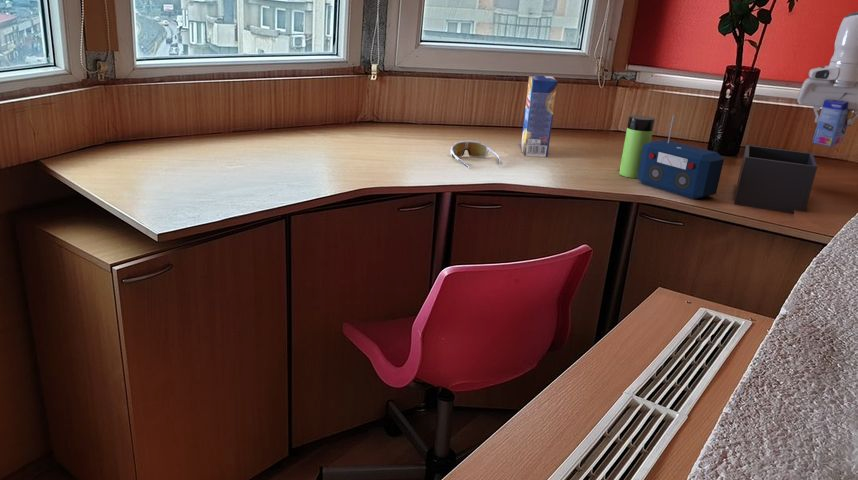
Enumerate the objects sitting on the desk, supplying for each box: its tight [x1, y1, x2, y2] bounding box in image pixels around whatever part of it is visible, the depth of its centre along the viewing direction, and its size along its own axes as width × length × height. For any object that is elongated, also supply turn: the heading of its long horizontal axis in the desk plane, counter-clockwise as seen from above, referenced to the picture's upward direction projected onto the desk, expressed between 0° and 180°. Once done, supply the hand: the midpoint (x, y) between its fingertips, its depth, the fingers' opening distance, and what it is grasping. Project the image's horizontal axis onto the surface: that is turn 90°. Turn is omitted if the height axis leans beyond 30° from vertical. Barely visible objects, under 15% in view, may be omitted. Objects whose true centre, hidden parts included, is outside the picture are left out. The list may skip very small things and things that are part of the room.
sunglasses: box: [449, 140, 501, 169], centre depth 220 cm, size 14×15×5 cm
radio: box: [636, 115, 725, 200], centre depth 198 cm, size 21×9×20 cm, turn 35°
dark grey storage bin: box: [733, 144, 818, 214], centre depth 193 cm, size 17×18×13 cm
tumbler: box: [618, 114, 656, 179], centre depth 212 cm, size 8×8×17 cm
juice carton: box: [520, 74, 558, 158], centre depth 232 cm, size 12×8×24 cm, turn 176°
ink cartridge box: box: [811, 93, 853, 148], centre depth 200 cm, size 10×6×14 cm, turn 133°
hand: (832, 124), depth 201 cm, fingers closed on ink cartridge box, 6 cm apart
